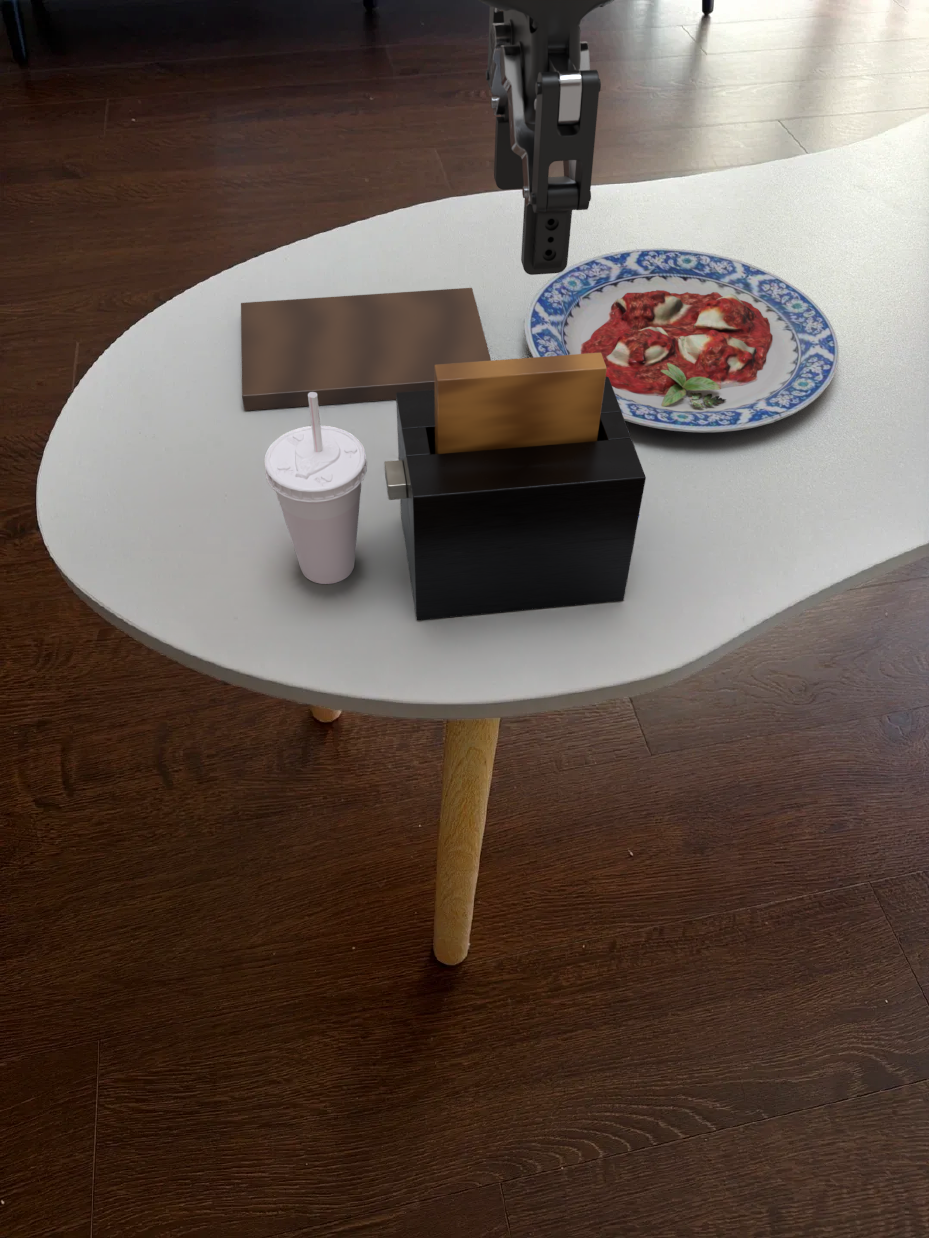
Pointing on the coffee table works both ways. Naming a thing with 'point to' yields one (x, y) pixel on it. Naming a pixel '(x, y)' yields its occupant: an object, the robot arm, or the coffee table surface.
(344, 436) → the smoothie
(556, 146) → the robot arm
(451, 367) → the toast
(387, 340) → the cutting board
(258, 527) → the coffee table surface
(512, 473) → the toaster
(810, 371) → the ceramic plate
